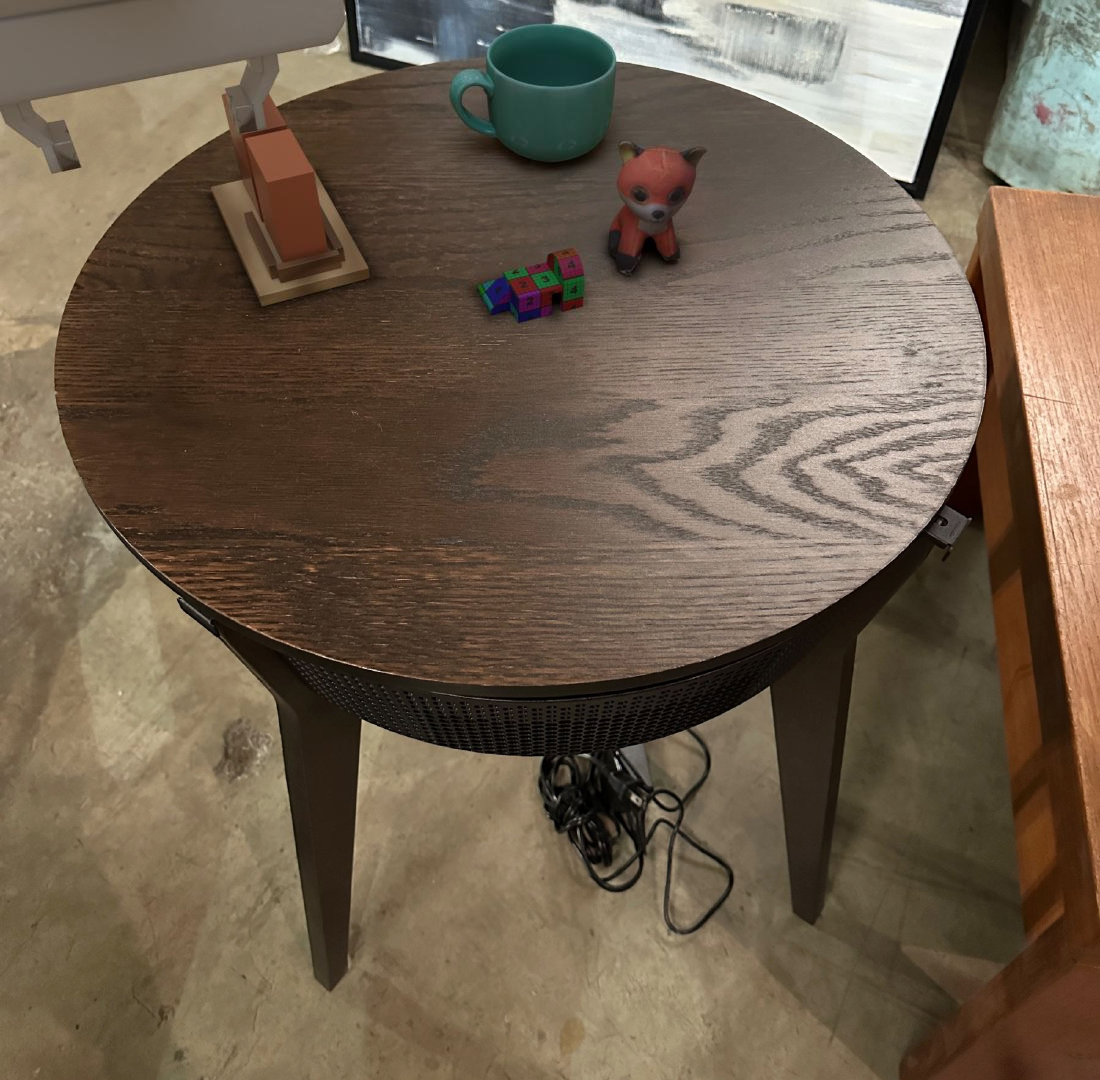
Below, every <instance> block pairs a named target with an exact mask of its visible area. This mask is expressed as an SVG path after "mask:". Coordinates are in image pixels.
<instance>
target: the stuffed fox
mask: <svg viewBox="0 0 1100 1080" xmlns="http://www.w3.org/2000/svg"><path fill="white" fill-rule="evenodd" d="M617 147H618V152H619V157H620V159H621V162H622V166H621V169H620V171H619V172H618V175H617V177H616V190H617V193H618V195H619V198H620V199H621V201H622V202H623V203H624V204H623V206H622V207H621V208H620V210H619V211H618V212H617V214H616V215H615V217H614V218H613V220H612V222H611V224H610V227H609V232H608V241H607V248H608V251H609V252H610V254H611V256H612V257H613V258H614V259H615V265H616V266H615V267H616V270H617V271H619V273H622V275H624V276H626V277H632V271H633V270H634V269H635V267H636V266H637V264H638V263H639V262H640V260H641V258H642V250H643V247H644V243H645V241H646V239H648V238H650V239H651V240H652V241H653V243H654V244H656V250H657V252H659V254H660V255H661V256H662V258H663V260H665V261H666V262H670V261H673V260H674V261H678V262H679V261H681V249H680V246H679V242H677V238H676V232H675V227H674V222H673V217H674V216H675V215H676V214H677V213H678V212H679V211H680V210H681V208H682V207H683V206H684V205H685V203H686V202H687V201H688V198H689V197H690V195H691V193H692V190H693V188H694V185H695V182H696V178H697V166H698V164H699V163H700V161H701V159H702V157H703V156H704V155H705V154H706V153H707V152H708V150H709V149H708V148H707V147H703V146H695V147H691V148H689V149H687V150H683V151H680V150H679V149H676V148H673V147H670V146H667V145H657V146H652V147H647V148H645V149H644V148H641V147H640V146H639V145H637V144H636V143H634V142H632V141H629V140H623V141H619V142H618V143H617Z"/></svg>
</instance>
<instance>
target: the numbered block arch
mask: <svg viewBox="0 0 1100 1080" xmlns="http://www.w3.org/2000/svg"><path fill="white" fill-rule="evenodd" d="M476 287H477V288H476V289H477V290H476V291H477V293H478V294H479V296H480V298H481V299H482V301H483V302H484V305H485V306H486V308H487V309H488V312H489V313H490V315H496V314H501V313H504V312H507V311H510V312H511V314H512V315H513V317H514V318H515V320H516V322H517V323H518V324H520V323H523V322H527V321H531V320H535V319H539V318H542V317H546V316H550V315H552V304H553V303H552V299H553V295H554V294H555V295H556V294H559V293H560V307H559V308H560V311H561V312H565V311H570V310H573V309H578V308H581V307H584V295H585V271H584V266H583V262H582V260H581V257H580V255H579V253H578V251H577V250H576V249H575V248H573V247H570V248H567V249H562V250H558V251H554V252H550V253H548V254H547V257H546V262H541V263H538V264H534V265H529V266H525V267H520V268H516V269H512V270H507V271H504V272H502V277H498V278H496V279H493V280H490V281H487V282H485V283H484V282H483V283H482V284H479V285H476Z"/></svg>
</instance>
